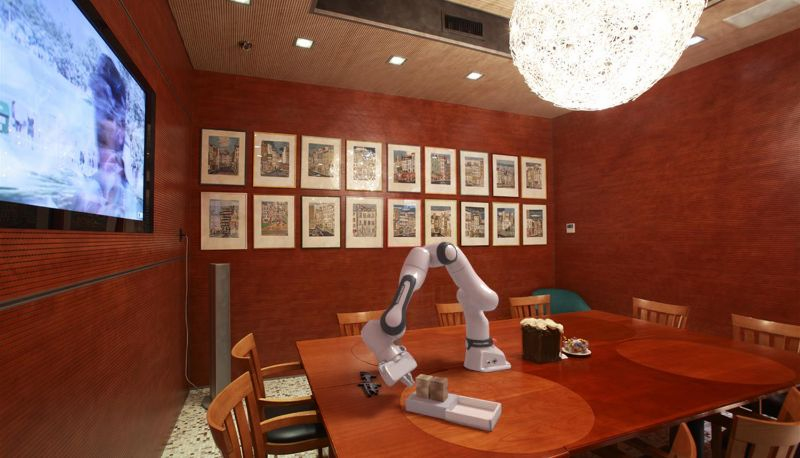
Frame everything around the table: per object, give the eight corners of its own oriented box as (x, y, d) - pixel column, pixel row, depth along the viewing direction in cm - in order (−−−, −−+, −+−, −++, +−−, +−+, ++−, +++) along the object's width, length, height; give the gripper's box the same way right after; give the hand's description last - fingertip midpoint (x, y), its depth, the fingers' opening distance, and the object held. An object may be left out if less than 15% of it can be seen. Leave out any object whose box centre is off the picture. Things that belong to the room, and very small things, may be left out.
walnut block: (430, 399, 136) (430, 380, 136) (435, 395, 140) (435, 376, 140) (443, 402, 134) (443, 382, 134) (448, 397, 138) (447, 378, 138)
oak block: (416, 396, 139) (415, 377, 139) (421, 392, 143) (420, 374, 143) (428, 399, 137) (427, 380, 137) (433, 394, 141) (432, 376, 141)
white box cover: (405, 410, 137) (405, 399, 137) (419, 397, 147) (419, 387, 147) (446, 419, 129) (446, 408, 129) (458, 405, 140) (457, 395, 140)
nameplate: (352, 372, 174) (373, 369, 177) (352, 375, 174) (373, 373, 177) (362, 395, 148) (386, 392, 151) (362, 399, 148) (386, 396, 151)
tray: (445, 420, 128) (445, 410, 128) (459, 404, 141) (458, 395, 141) (491, 431, 121) (491, 420, 121) (501, 413, 133) (501, 403, 133)
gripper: (380, 359, 137) (404, 390, 132) (406, 345, 155) (428, 372, 150) (370, 370, 139) (394, 401, 134) (397, 354, 157) (418, 381, 152)
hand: (412, 385), depth 142 cm, fingers closed
